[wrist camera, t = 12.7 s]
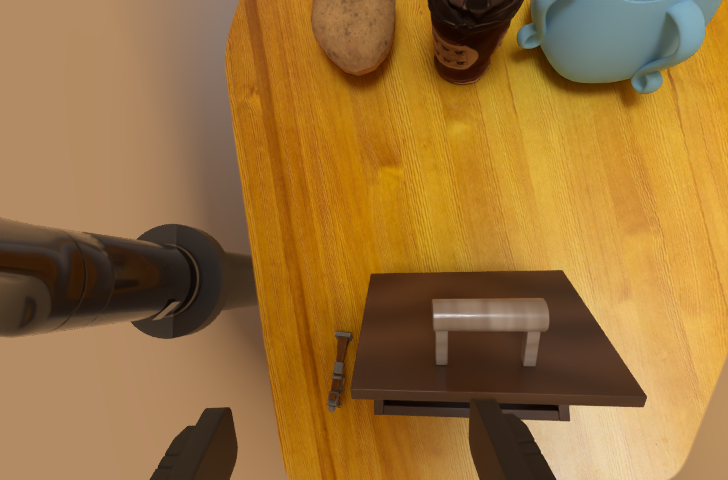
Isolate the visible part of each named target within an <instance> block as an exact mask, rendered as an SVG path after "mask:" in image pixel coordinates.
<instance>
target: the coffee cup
mask: <svg viewBox="0 0 728 480" xmlns="http://www.w3.org/2000/svg"><path fill="white" fill-rule="evenodd" d="M523 1H524V0H428V7H429V10H430V12H431V21H432V34H433V45H434V50H435V56H434V61H435V66H436V68H437V70H438V72H439V74H440V75H441V76H442V77H443V78H444V79H446V80H448V81H450V82H453V83H458V84H467V83H474V82H477V81H478V80H479V79H480V77H482V76H483V75H484V74H485V72H486V71H487V70H488V68H489V64H490V56H491V55H492V54H493V52H494V51H495V50H496V49H497V48H498V47H499V46H500V45H501V42H502V39H503V37H504V36H505V34H506V33H507V30H508V28H509V26H510V21H511V19H512V18H513V17H514V16H515V14H516V13H517V11H518V10H519V8H520V7H521V5H522V3H523Z"/></svg>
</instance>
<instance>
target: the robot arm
mask: <svg viewBox="0 0 728 480" xmlns="http://www.w3.org/2000/svg"><path fill="white" fill-rule="evenodd" d="M201 283H202V274H201V269H200V266H199V263H198V261H197V259H196V258H195V256H194V255H193V254H192V253H191V252H190V251H189V250H187V249H186V248H184V247H181V246H178V245H173V244H161V243H155V242H148V241H141V240H134V239H127V238H121V237H114V236H108V235H101V234H94V233H87V232H79V231H72V230H66V229H59V228H51V227H46V226H38V225H32V224H28V223H23V222H19V221H14V220H10V219H5V218H0V337H11V338H12V337H24V336H30V335H38V334H44V333H51V332H58V331H66V330H73V329H78V328H85V327H93V326H101V325H108V324H115V323H122V322H130V321H137V320H145V319H153V318H154V319H153V320H158V319H161V318H166V317H172V316H176V315H179V314H181V313H183V312H184V311H186V310H187V309H188V308H189V307H191V305H192V304H193V303H194V302H195V300H196V298H197V297H198V294H199V292H200V288H201ZM469 445H470V451H471V455H472V458H473V461H474V464H475V467H476V470H477V473H478V476H479V479H480V480H556V478H555V476H554V475H553V473H552V471H551V469H550V467H549V465H548V464H547V462H546V460H545V458H544V456H543V454H541V451H540V449H539V447H538V445H537V444H536V442H535V441H534V438H533V436H532V434H531V433H530V431H529V429H528V427H527V425H526V424H525V423H523V422H522V421H521V420H520V419H519V418H518V417H517V416H516V415H515V414H514V413H511V414H503V412H502V410H501V408H500V406H499V404H498V402H497V400H496V399H495V398H494V397H485V398H471V401H470V418H469ZM237 448H238V447H237V439H236V433H235V428H234V422H233V417H232V412H231V409H230V408H229V407H225V408H206V409H205V410H204V412H203V413H202V415H201V417H200V418H199V420H198V422H197V424H196V426H187V427H186V428H185V429H184V430H183V431H182V432H181V433H180V434H179V435H178V436H177V437H175V439H174V440H173V441H172V443H171V445H170V446H169V448H168V450H167V451H166V453H165V456H164V457H163V458H162V460H161V462H160V463H159V465H158V469H156V470H155V472H154V473H153V475H152V477H151V478H150V480H230V477H231V474H232V472H233V469H234V466H235V463H236V459H237Z"/></svg>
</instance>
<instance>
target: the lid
mask: <svg viewBox="0 0 728 480" xmlns="http://www.w3.org/2000/svg"><path fill="white" fill-rule="evenodd" d="M350 390H351V397H352V399H377V400H411V401H446V402H470V401H471V398H485V397H494V398H495V399H496V400H497V402H498V403H515V404H549V405H583V406H618V407H644V405H645V402H646V399H647V396H646V394H645V393H644V391H643V390H642V389H641V387H640V386H639V384H638V383H637V381H636V380H635V378H634V377H633V375H632V374H631V372H630V371H629V369H628V368H627V366H626V365H625V363H624V362H623V360H622V359H621V357H620V356H619V354H618V353H617V351H616V350H615V348H614V347H613V345H612V344H611V342H610V341H609V339H608V338H607V336H606V335H605V333H604V332H603V330H602V329H601V327H600V326H599V324H598V323H597V321H596V320H595V318H594V317H593V315H592V314H591V312H590V311H589V309H588V308H587V306H586V305H585V303H584V302H583V300H582V299H581V297H580V296H579V294H578V293H577V291H576V290H575V288H574V287H573V285H572V284H571V282H570V281H569V279H568V278H567V276H566V275H565V274H564V272H563V271H562V270H551V271H495V272H440V273H384V274H371V277H370V282H369V288H368V294H367V299H366V305H365V310H364V316H363V322H362V327H361V333H360V338H359V344H358V350H357V355H356V361H355V366H354V372H353V378H352V383H351V389H350Z"/></svg>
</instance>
